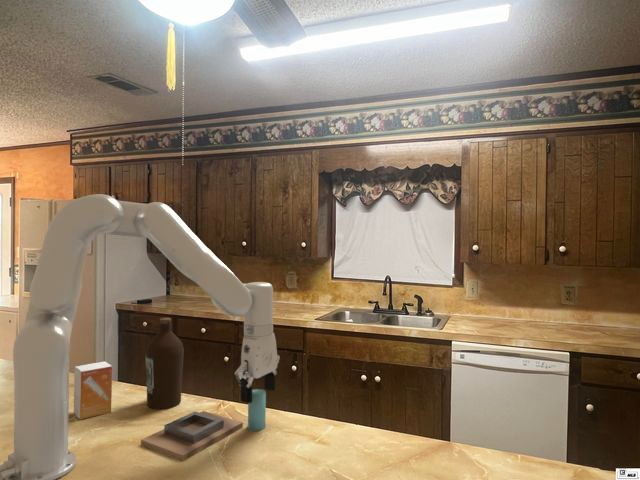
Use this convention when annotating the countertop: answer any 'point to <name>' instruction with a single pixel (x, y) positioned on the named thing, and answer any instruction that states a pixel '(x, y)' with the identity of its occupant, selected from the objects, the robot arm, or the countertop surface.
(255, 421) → the teal peg
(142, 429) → the countertop surface
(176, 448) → the collar board
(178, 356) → the olive oil
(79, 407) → the small box
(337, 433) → the countertop surface
